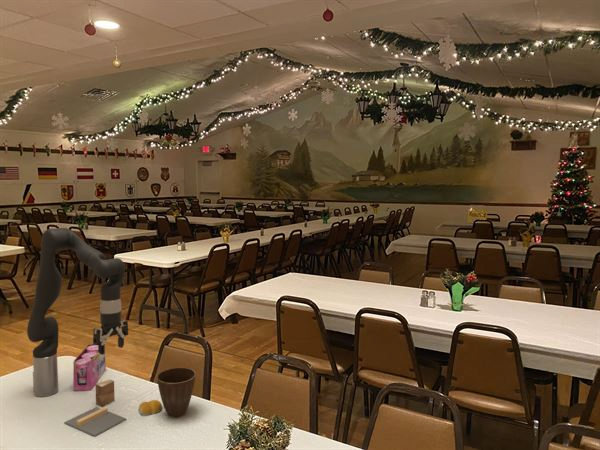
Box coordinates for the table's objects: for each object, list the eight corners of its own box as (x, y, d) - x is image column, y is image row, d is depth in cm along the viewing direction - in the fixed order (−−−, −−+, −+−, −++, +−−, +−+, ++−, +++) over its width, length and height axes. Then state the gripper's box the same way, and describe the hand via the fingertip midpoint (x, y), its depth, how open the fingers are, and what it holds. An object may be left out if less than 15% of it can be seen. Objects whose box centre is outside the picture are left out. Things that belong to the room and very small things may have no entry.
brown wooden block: (95, 404, 190) (95, 383, 189) (108, 398, 195) (107, 378, 194) (102, 407, 188) (101, 386, 187) (114, 401, 193) (114, 380, 192)
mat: (64, 423, 174) (64, 417, 174) (96, 408, 187) (96, 402, 186) (94, 436, 166) (94, 430, 165) (126, 419, 178) (126, 414, 178)
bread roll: (164, 412, 185) (164, 402, 184) (141, 418, 180) (141, 408, 180) (158, 403, 192) (158, 394, 191) (136, 409, 187) (136, 399, 186)
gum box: (90, 391, 201) (90, 362, 200) (71, 392, 200) (71, 362, 199) (106, 370, 225) (105, 343, 224) (89, 370, 224) (88, 343, 223)
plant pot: (203, 409, 187) (203, 372, 185) (177, 426, 174) (177, 386, 172) (176, 401, 194) (175, 364, 192) (149, 416, 181) (148, 377, 179)
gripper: (119, 304, 184) (120, 343, 186) (88, 312, 172) (88, 354, 173) (132, 307, 180) (132, 347, 182) (101, 316, 168) (101, 358, 170)
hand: (111, 350), depth 178 cm, fingers open, 8 cm apart
